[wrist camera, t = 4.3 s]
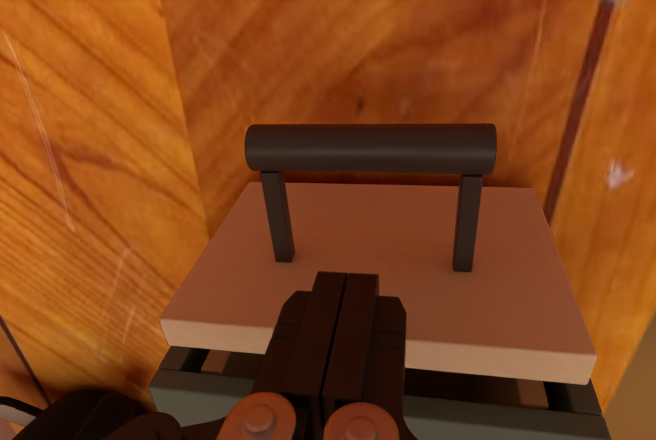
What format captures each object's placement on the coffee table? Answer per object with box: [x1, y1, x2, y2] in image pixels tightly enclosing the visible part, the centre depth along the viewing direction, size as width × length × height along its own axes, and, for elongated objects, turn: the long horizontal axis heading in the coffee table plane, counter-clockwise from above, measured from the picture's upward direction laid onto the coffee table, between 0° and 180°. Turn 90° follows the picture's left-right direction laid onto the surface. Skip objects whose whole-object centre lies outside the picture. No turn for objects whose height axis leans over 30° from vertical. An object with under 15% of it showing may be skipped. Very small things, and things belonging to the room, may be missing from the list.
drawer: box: [159, 124, 597, 410], centre depth 19 cm, size 19×12×9 cm, turn 4°
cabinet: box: [148, 346, 611, 440], centre depth 22 cm, size 16×14×11 cm
